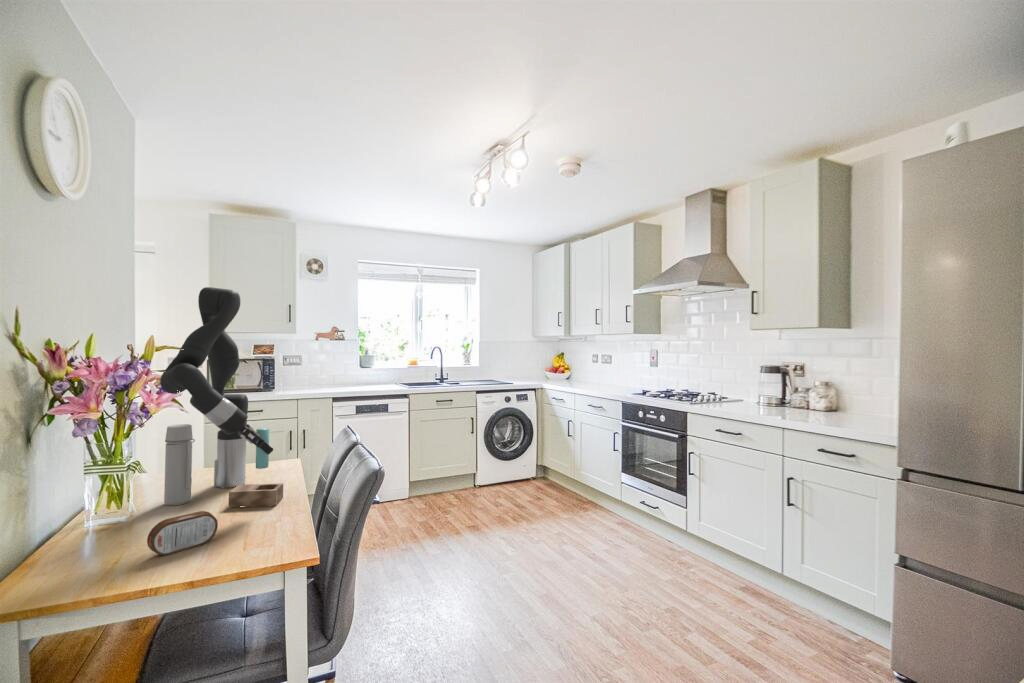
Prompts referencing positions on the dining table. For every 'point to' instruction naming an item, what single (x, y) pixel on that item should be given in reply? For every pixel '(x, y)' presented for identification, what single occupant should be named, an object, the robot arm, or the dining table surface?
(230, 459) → the robot arm
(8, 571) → the dining table surface
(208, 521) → the tin
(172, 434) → the water bottle
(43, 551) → the dining table surface
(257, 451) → the peg
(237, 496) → the socket
